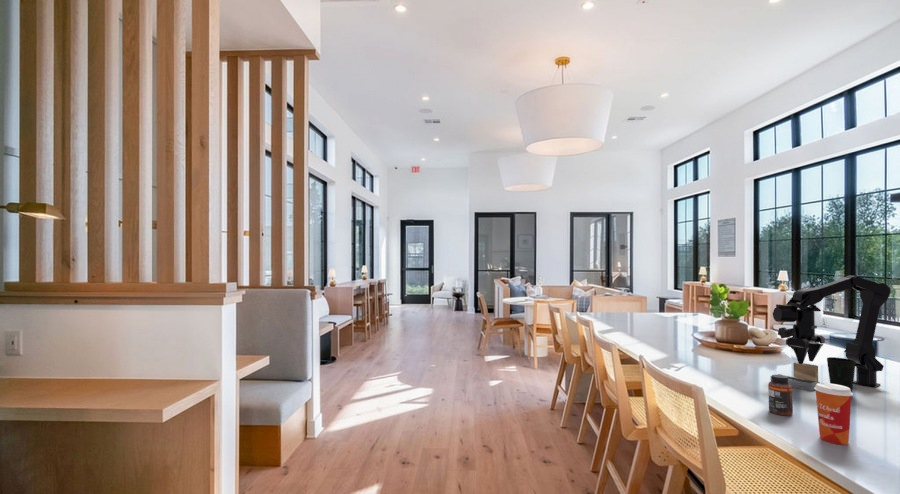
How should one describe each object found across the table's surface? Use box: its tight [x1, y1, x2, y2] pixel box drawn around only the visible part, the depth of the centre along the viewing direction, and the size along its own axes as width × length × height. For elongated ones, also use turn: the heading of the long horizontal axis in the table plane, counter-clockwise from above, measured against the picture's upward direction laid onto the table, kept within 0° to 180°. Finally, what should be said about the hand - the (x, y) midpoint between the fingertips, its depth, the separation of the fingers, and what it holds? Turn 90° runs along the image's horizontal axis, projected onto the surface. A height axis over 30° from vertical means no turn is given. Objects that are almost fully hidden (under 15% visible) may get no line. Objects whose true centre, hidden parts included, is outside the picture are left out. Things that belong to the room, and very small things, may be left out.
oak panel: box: [793, 361, 819, 382], centre depth 171 cm, size 2×7×7 cm, turn 31°
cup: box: [826, 356, 856, 393], centre depth 156 cm, size 8×8×12 cm
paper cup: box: [814, 382, 854, 446], centre depth 114 cm, size 8×8×14 cm
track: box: [770, 373, 821, 392], centre depth 166 cm, size 7×13×2 cm, turn 31°
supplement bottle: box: [767, 374, 794, 417], centre depth 135 cm, size 6×6×11 cm
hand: (805, 362), depth 171 cm, fingers open, 9 cm apart
